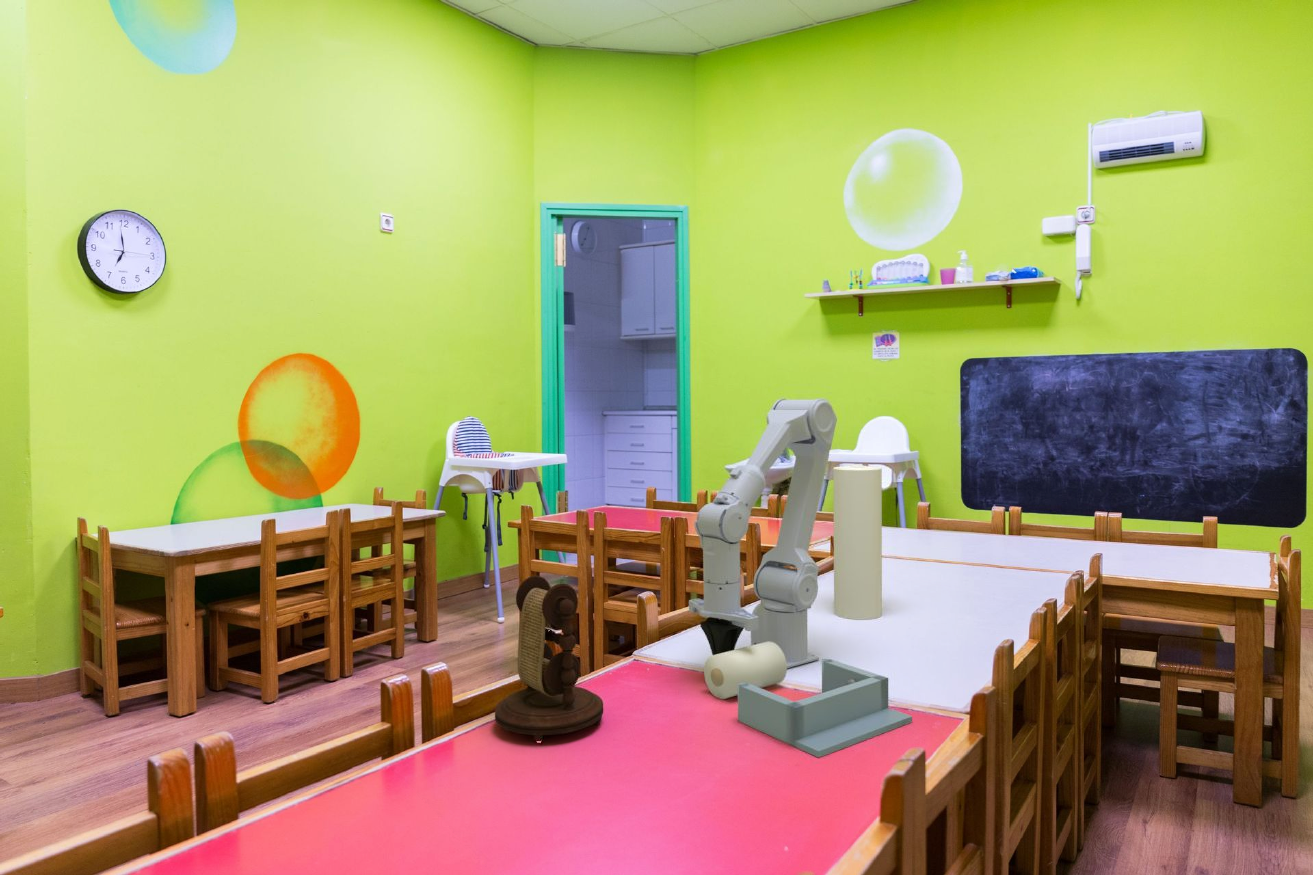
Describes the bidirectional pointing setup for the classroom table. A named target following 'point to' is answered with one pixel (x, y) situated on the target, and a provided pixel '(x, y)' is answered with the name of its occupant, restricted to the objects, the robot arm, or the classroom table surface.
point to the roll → (745, 668)
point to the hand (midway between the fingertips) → (722, 666)
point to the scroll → (547, 666)
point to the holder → (824, 711)
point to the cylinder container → (857, 542)
